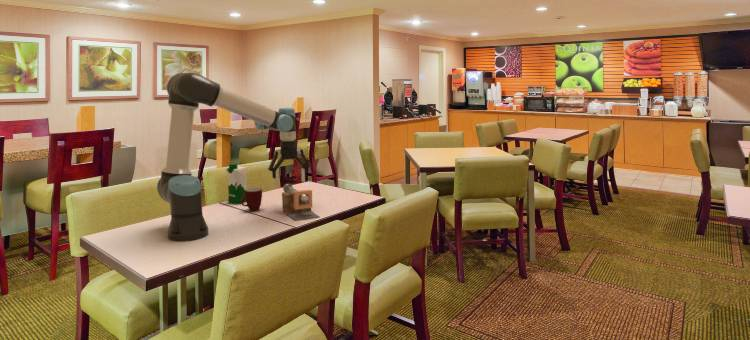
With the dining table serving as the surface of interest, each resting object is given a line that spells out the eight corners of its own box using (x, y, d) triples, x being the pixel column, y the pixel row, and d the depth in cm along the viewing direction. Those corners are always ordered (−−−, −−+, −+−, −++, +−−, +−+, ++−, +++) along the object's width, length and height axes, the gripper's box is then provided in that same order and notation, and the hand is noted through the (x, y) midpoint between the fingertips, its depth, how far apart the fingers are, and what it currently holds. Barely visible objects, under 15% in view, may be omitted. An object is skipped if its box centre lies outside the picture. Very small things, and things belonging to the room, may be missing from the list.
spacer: (295, 209, 213) (295, 192, 211) (293, 208, 215) (293, 191, 213) (312, 207, 216) (312, 190, 215) (310, 206, 218) (310, 189, 217)
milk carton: (225, 202, 242) (223, 164, 238) (239, 199, 249) (237, 161, 246) (237, 205, 237) (235, 165, 234) (251, 201, 245) (249, 163, 241)
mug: (247, 214, 220) (246, 193, 219) (237, 211, 226) (236, 190, 224) (266, 209, 228) (265, 189, 226) (256, 207, 233) (255, 187, 232)
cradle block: (286, 215, 219) (286, 195, 217) (282, 212, 224) (282, 192, 222) (311, 211, 224) (310, 192, 223) (306, 208, 229) (306, 189, 228)
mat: (294, 220, 209) (294, 220, 209) (286, 215, 219) (286, 214, 219) (319, 217, 215) (319, 216, 215) (311, 211, 224) (311, 210, 224)
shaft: (311, 203, 213) (310, 193, 212) (301, 204, 211) (300, 194, 210) (292, 192, 235) (291, 183, 234) (283, 193, 233) (282, 184, 232)
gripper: (264, 142, 217) (267, 187, 221) (315, 139, 229) (316, 181, 233) (260, 141, 224) (262, 184, 228) (309, 137, 235) (311, 179, 239)
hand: (290, 183), depth 230 cm, fingers open, 13 cm apart
